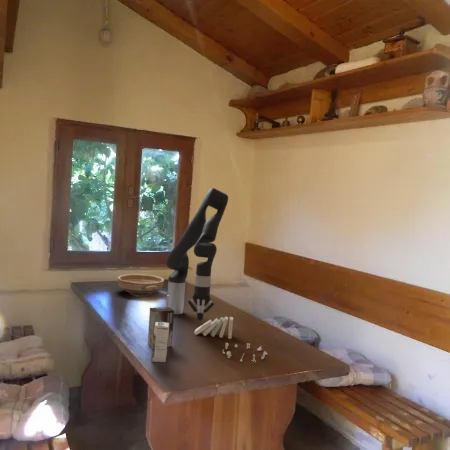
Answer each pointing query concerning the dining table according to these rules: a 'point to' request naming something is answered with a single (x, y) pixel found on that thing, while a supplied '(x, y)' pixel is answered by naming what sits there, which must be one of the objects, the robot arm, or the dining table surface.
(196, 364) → the dining table surface
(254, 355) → the game piece set
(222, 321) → the domino
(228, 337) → the domino
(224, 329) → the domino
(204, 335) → the domino
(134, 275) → the ceramic bowl
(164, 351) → the syrup box
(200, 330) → the domino
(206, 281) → the robot arm
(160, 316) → the coffee box
